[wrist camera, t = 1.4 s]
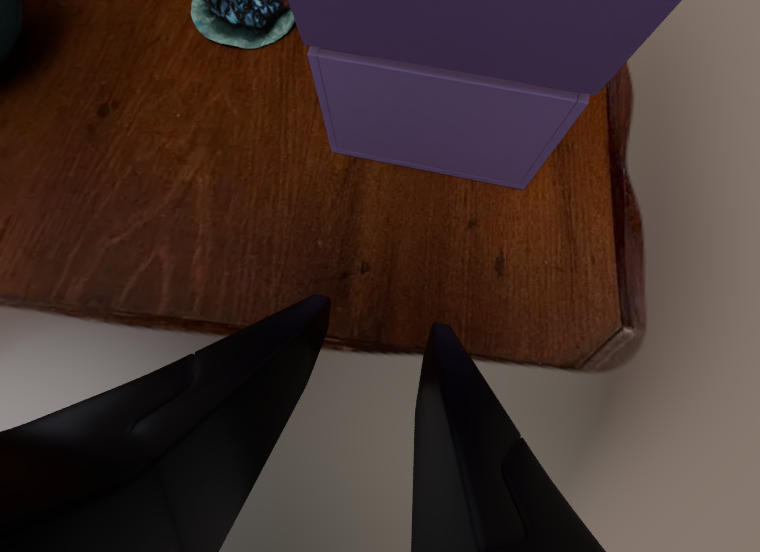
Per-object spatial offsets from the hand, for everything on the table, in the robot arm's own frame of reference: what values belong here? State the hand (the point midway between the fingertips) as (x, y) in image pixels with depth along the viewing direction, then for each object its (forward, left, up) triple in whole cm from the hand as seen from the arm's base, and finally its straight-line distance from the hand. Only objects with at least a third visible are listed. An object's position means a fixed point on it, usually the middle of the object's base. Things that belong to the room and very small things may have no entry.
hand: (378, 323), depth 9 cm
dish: (+24, +16, -12) cm, 31 cm away
